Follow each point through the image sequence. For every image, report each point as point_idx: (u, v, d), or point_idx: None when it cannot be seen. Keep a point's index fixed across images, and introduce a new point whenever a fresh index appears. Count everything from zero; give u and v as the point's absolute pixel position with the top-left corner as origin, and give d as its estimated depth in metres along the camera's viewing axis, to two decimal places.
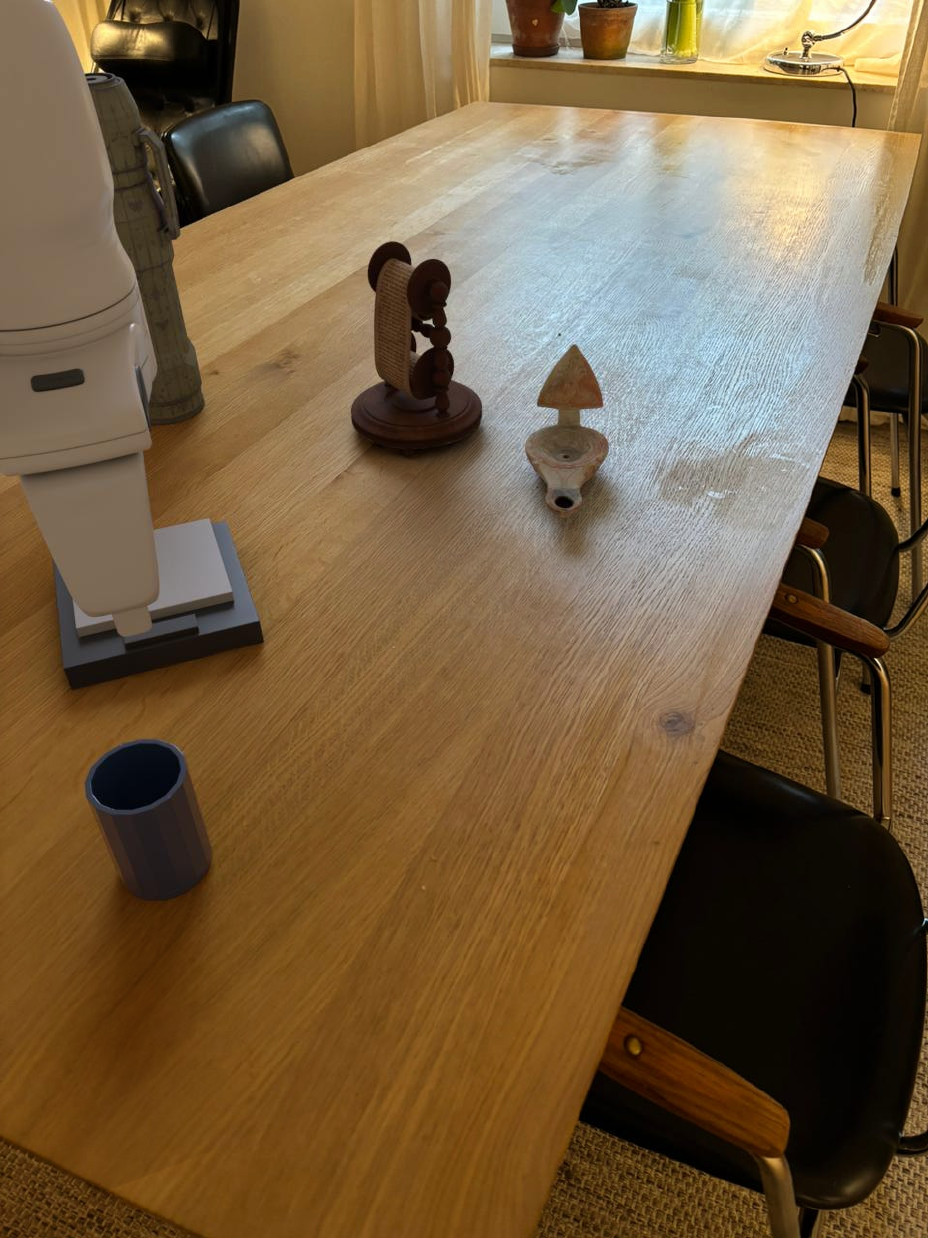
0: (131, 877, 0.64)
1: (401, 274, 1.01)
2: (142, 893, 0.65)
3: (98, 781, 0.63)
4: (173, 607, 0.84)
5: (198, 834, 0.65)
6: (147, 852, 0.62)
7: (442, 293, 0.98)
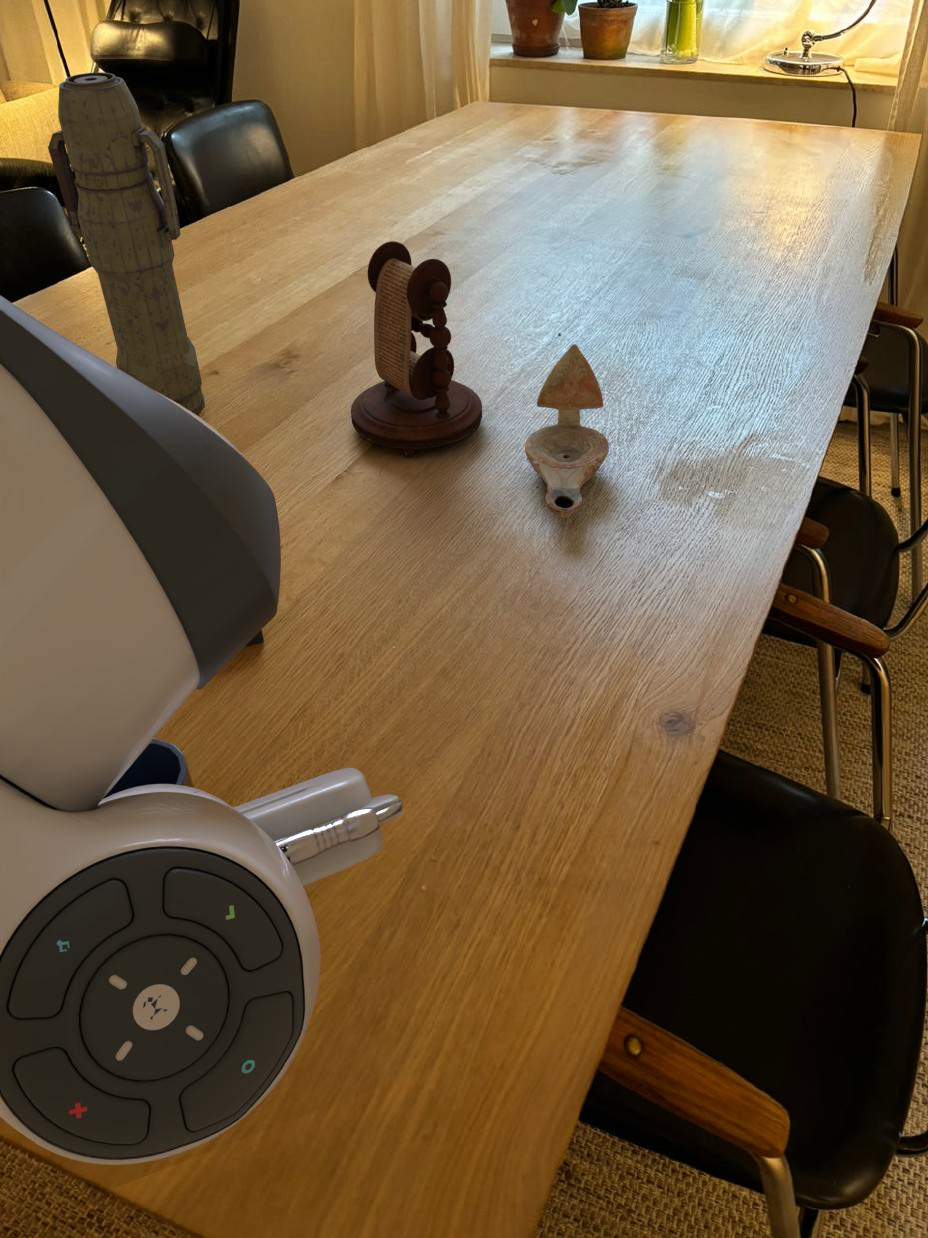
0: None
1: (401, 274, 1.01)
2: None
3: None
4: None
5: None
6: None
7: (442, 293, 0.98)
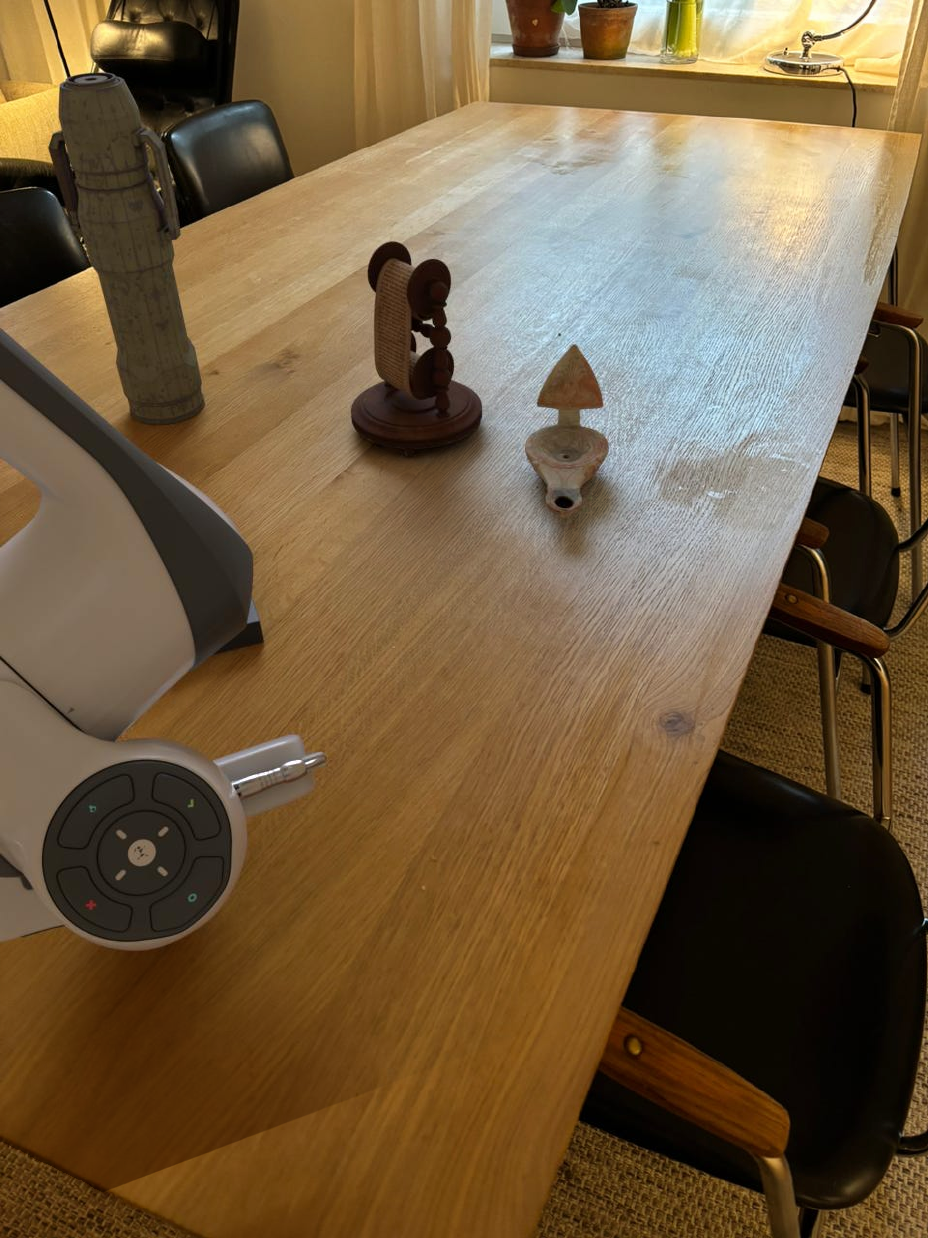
0: None
1: (401, 274, 1.01)
2: None
3: None
4: None
5: None
6: None
7: (442, 293, 0.98)
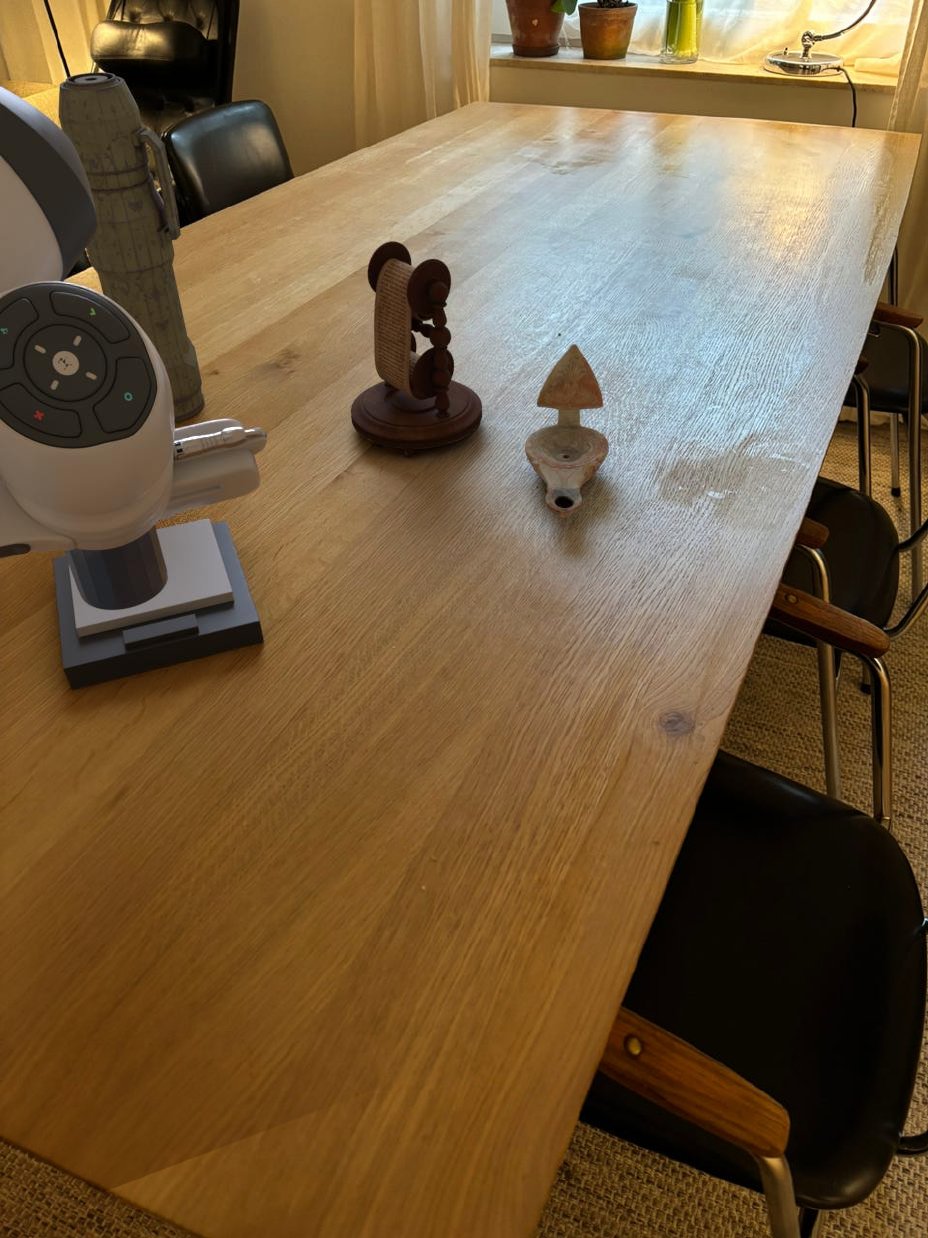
0: (88, 582, 0.68)
1: (401, 274, 1.01)
2: (99, 601, 0.69)
3: None
4: (173, 607, 0.84)
5: (152, 544, 0.68)
6: None
7: (442, 293, 0.98)
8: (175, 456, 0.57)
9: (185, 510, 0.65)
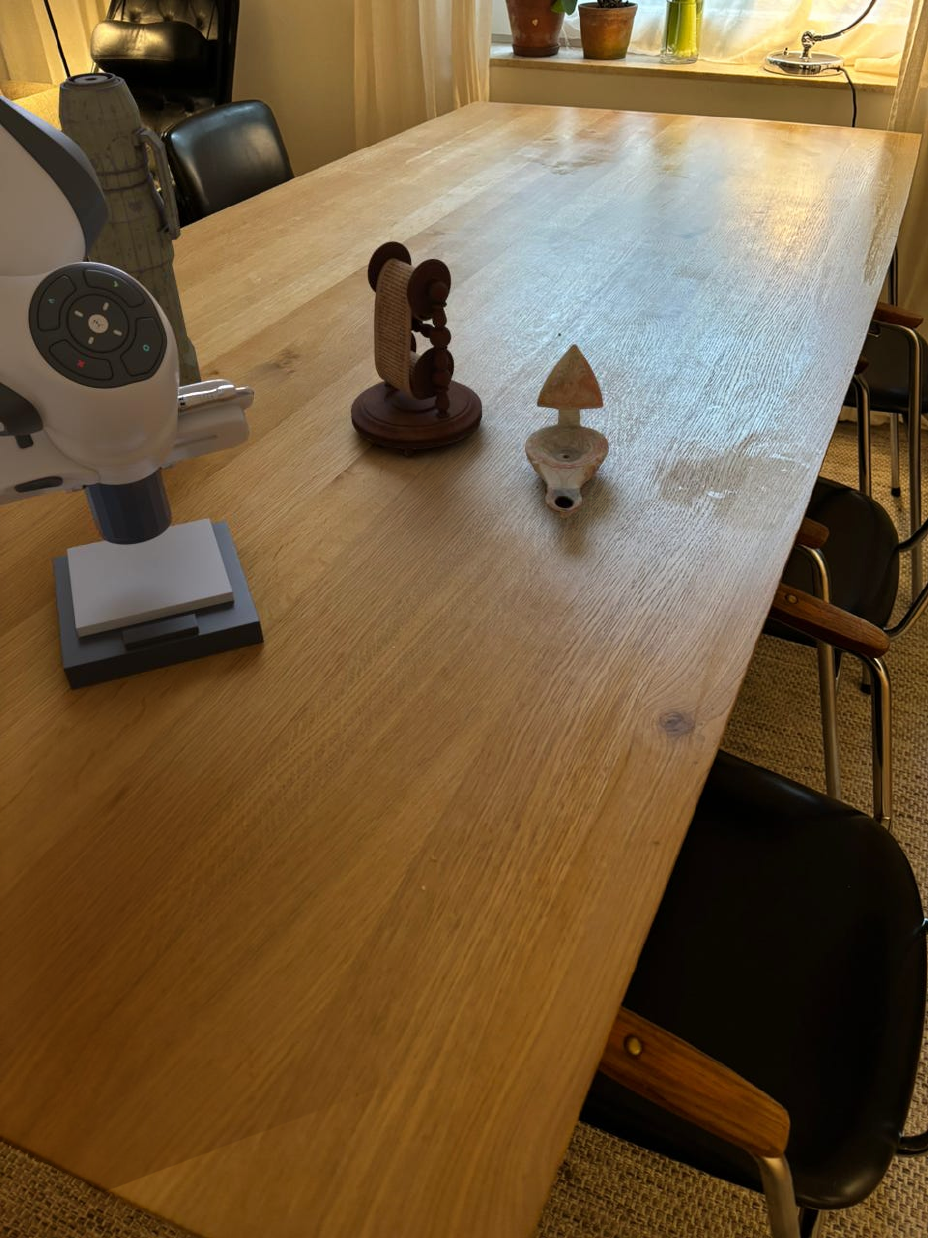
0: (106, 520, 0.81)
1: (401, 274, 1.01)
2: (115, 537, 0.82)
3: None
4: (173, 607, 0.84)
5: (159, 489, 0.82)
6: (117, 491, 0.79)
7: (442, 293, 0.98)
8: (179, 408, 0.70)
9: (187, 458, 0.78)
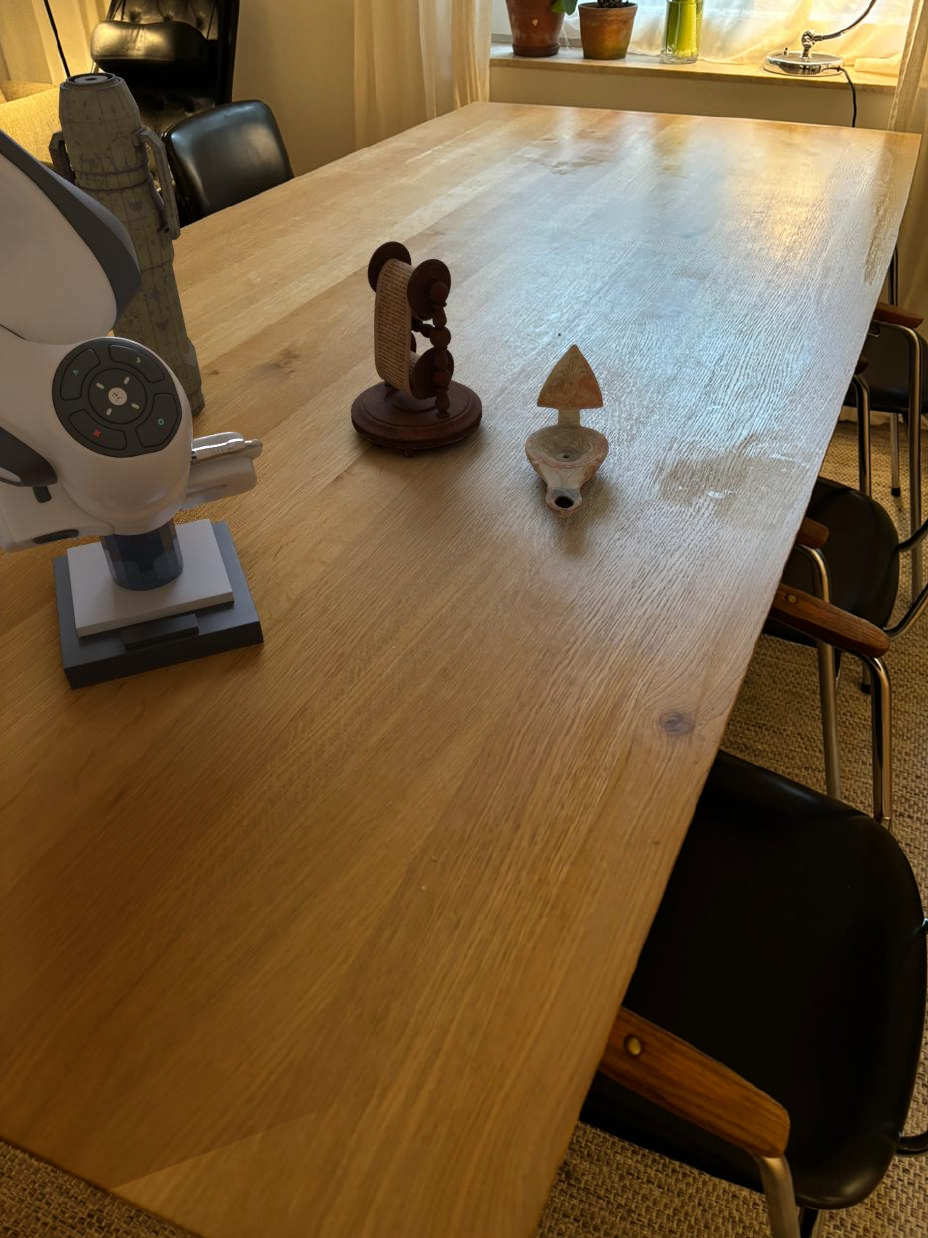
0: (120, 568, 0.84)
1: (401, 274, 1.01)
2: (129, 584, 0.85)
3: None
4: (173, 607, 0.84)
5: (171, 537, 0.85)
6: (132, 541, 0.82)
7: (442, 293, 0.98)
8: (190, 461, 0.73)
9: (196, 504, 0.81)
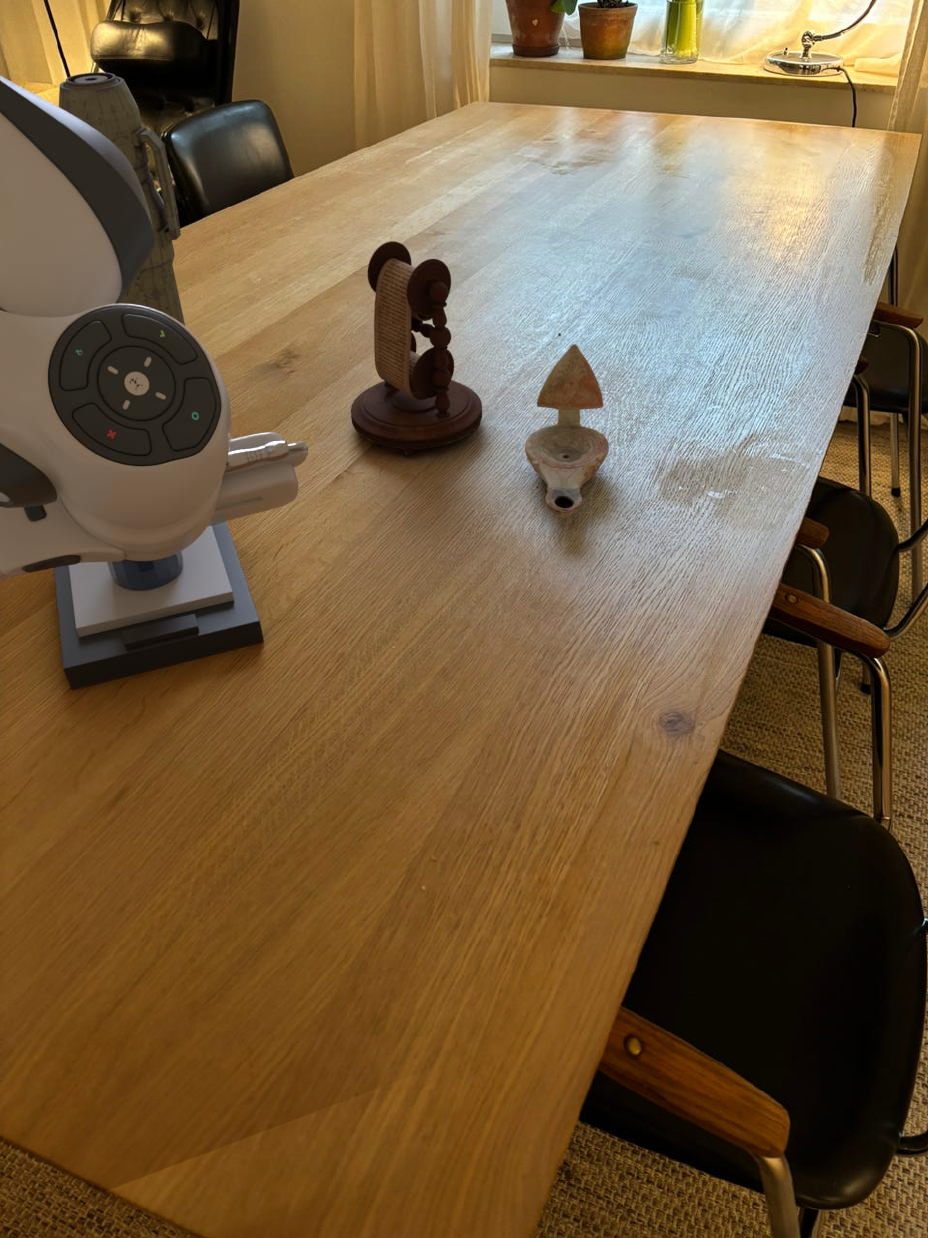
0: (120, 568, 0.84)
1: (401, 274, 1.01)
2: (129, 584, 0.85)
3: None
4: (173, 607, 0.84)
5: None
6: None
7: (442, 293, 0.98)
8: None
9: (224, 521, 0.66)
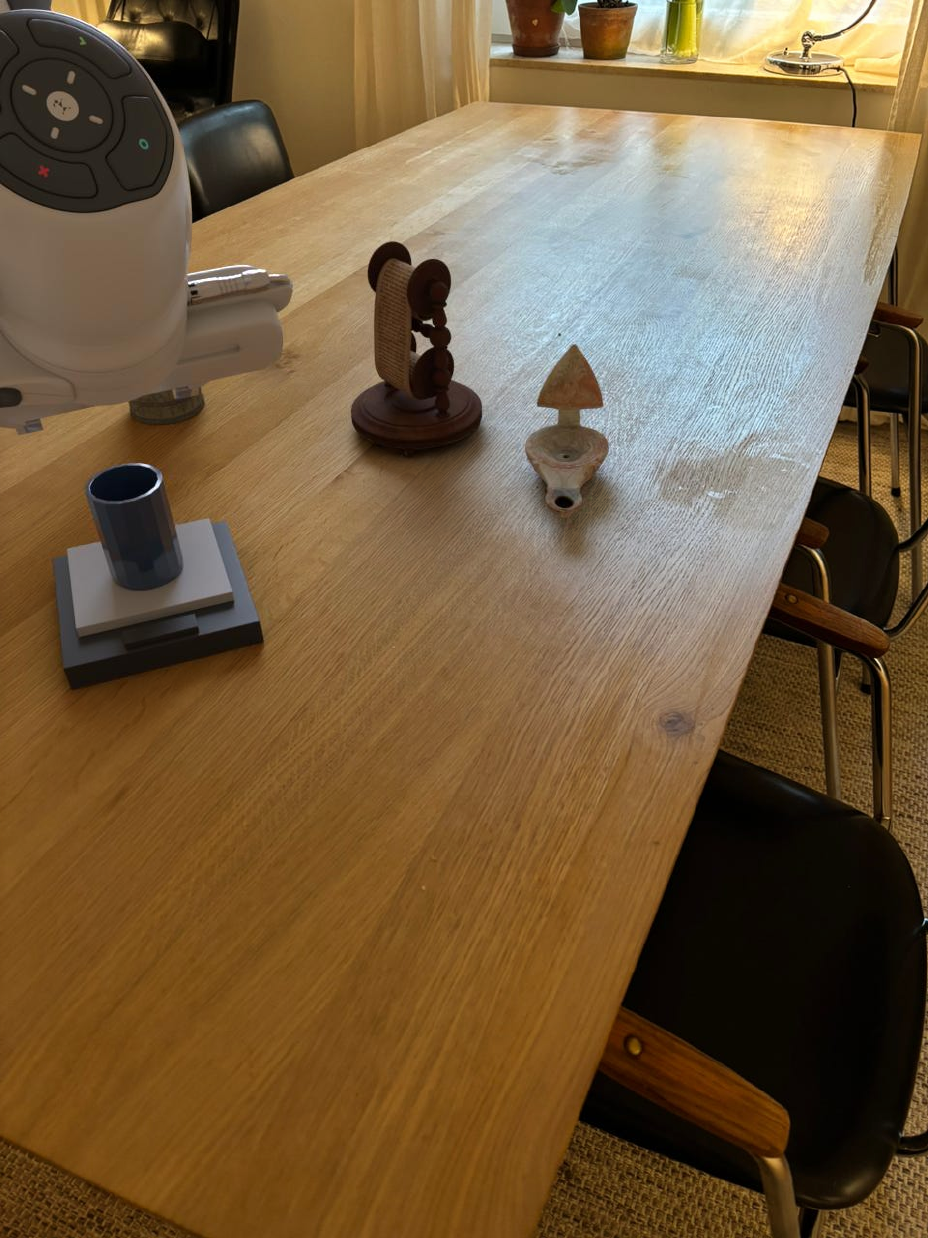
0: (120, 568, 0.84)
1: (401, 274, 1.01)
2: (129, 584, 0.85)
3: (95, 490, 0.83)
4: (173, 607, 0.84)
5: (171, 537, 0.85)
6: (132, 541, 0.82)
7: (442, 293, 0.98)
8: (189, 299, 0.50)
9: (198, 381, 0.57)
